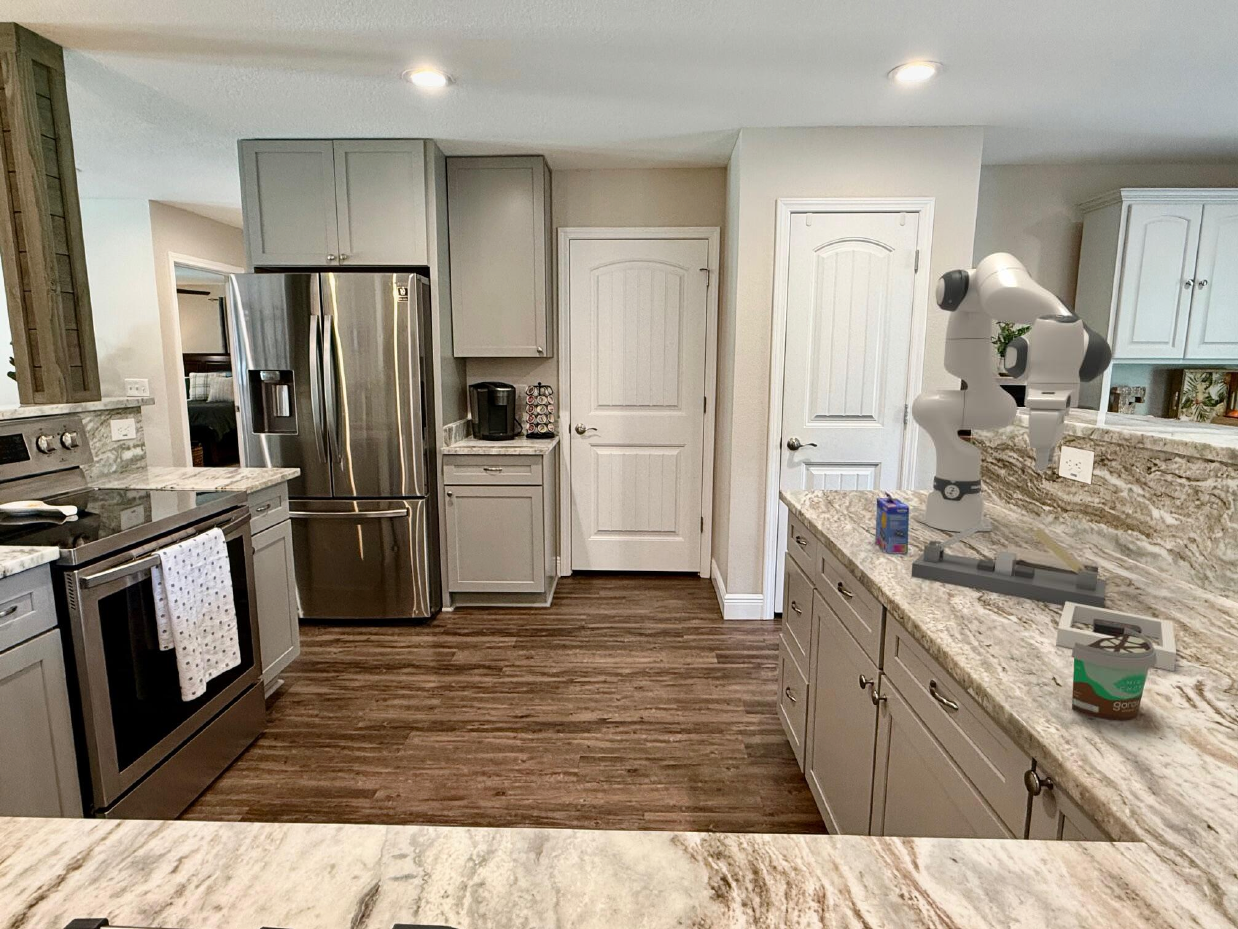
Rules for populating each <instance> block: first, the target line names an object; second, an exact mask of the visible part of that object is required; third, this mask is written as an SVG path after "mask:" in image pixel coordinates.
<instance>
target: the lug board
mask: <svg viewBox="0 0 1238 929" xmlns="http://www.w3.org/2000/svg"><path fill="white" fill-rule="evenodd" d="M942 542H943V541H938V540H929V543H928V544H925V545H924V546H923V553H922V554H921V555H920V556H918V557H917V558H916V559H915V560H914V561H913V562H912V564H911V577H915V578H920V579H924V580H930V581H935V582H941V583H945V584H951V585H955V586H956V585H957V586H961V587H966V588H971V589H977V590H983V591H987V592H993V593H997V594H1001V595H1002V594H1004V595H1008V596H1011V597H1012V596H1013V597H1019V598H1024V599H1029V600H1032V601H1033V600H1034V601H1038V602H1039V601H1040V602H1044V603H1050V604H1054V605H1060V606H1063V607H1064V606H1065V602H1066V601H1067V602H1072V603H1077V604H1082V605H1088V606H1093V607H1098V608H1104V604H1105V597H1106V590H1107V589H1106V588H1107V580H1106V579H1100V578H1098V575H1099V566H1098V565H1094V564H1093V565H1086V564H1082V565H1083V566H1084V567H1086V568H1087V569H1088V570H1091V571H1092V572H1091V571H1085V570H1079V569H1078V576H1077V575H1071V574H1065V573H1059V572H1053V571H1047V570H1041V569H1035V568H1031V567H1025V566H1019V565H1018V566H1017V565H1016V558H1017V553H1011V552H1004V550H1000V551H999V554H998V553H997V554H998V556H997V557H996V562H994V561H993V560H988V559H982V558H975V557H969V556H968V557H967V556H962V555H957V554H956V555H955V554H950V553H945V549H943V550H942V551H940V547H936V546H934V545H938V544H940V543H942Z"/></svg>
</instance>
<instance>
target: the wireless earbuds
mask: <svg viewBox="0 0 1238 929" xmlns="http://www.w3.org/2000/svg"><path fill="white" fill-rule="evenodd" d="M1125 628H1128V629H1131V630H1133V631H1136V632H1138V633H1140V634H1141V633H1142V630H1141V628H1140V627H1139V626H1137V625H1131V624H1125V623H1119V622H1113V621H1107V620H1101V619H1094V620H1093V625H1092V630H1091V632H1094V633H1099V634H1104V635H1108V636H1113V637H1117V636H1120V635H1122V634H1124V630H1125Z"/></svg>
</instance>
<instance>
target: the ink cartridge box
mask: <svg viewBox="0 0 1238 929" xmlns="http://www.w3.org/2000/svg"><path fill="white" fill-rule="evenodd" d="M884 494H885V495H886V498H885V497H884V498H883V497H879V498H876V515H875V516H876V517H875V518H876V519H875V539H874V541H875V542H876V543H877V544H878V545H879V546H880V547H881V548H882V549H883V550H884V551H885V552H884V551H883V550H882V549H881V548H880V547H879V546H878V545H877V544H876V543H875V542H874V543H875V544H876V545H877V546H878V547H879V548H880V549H881V550H882V551H883V552H884V553H885V554H894V555H895V554H896V555H898V554H900V555H907V554H908V553H909V529H910V528H909V524H910V506H909V505H908V504H906V503H904V502H902V501H901V500H900V499H898V498H893V497H892V495H890V493H888V492H886V491H884Z"/></svg>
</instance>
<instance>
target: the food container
mask: <svg viewBox="0 0 1238 929" xmlns="http://www.w3.org/2000/svg"><path fill="white" fill-rule="evenodd" d="M1153 645H1154V643H1153V641H1152V640H1150V639H1149V638H1148V636H1144V635H1142V634H1140V633H1138V632H1136V631H1133V630H1131V629H1128V628H1125V630H1124V634H1122V635H1120V636H1117V637H1113V638H1102V639H1100V640H1097V641H1096V642H1094V643H1092V644H1090V645H1087V646H1086V645H1082V644H1080V643H1077V642H1075V647H1073V648H1072V652H1071V656H1070V657H1071V658H1072V659H1073V675H1072V676H1073V678H1072V698H1071V709H1072V710H1074V711H1076V712H1078V713H1081V714H1084V715H1087V716H1090V717H1093V718H1097V719H1102V720H1106V721H1118V722H1123V721H1124V722H1125V721H1131V720H1135V719H1136V718H1137V717H1138V713H1139V711H1140V710H1139V709H1140V706H1141V702H1142V697H1143V694H1144V688H1145V686H1146V685H1145V684H1146V681H1147V677H1148V672H1149V669H1150V668H1154V667H1153V666H1155V665H1156V663H1157V658H1156V651H1155V648H1154V647H1153Z"/></svg>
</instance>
